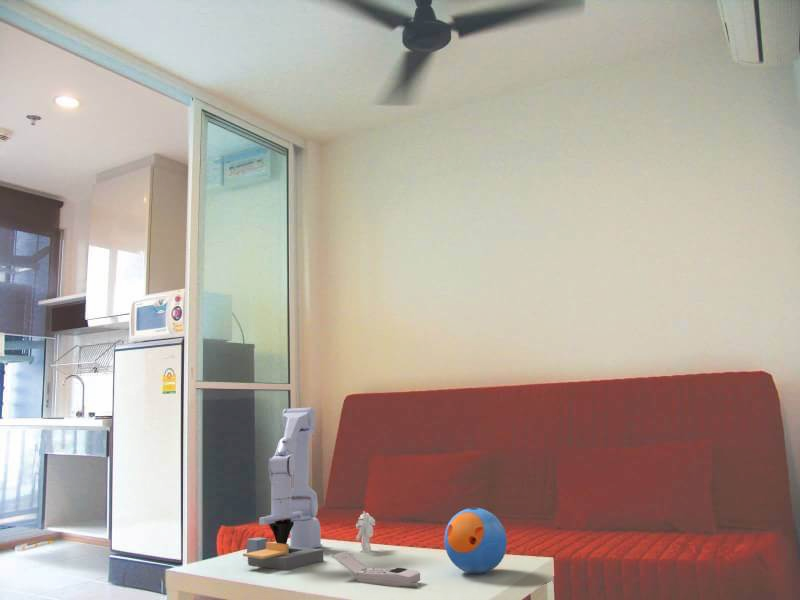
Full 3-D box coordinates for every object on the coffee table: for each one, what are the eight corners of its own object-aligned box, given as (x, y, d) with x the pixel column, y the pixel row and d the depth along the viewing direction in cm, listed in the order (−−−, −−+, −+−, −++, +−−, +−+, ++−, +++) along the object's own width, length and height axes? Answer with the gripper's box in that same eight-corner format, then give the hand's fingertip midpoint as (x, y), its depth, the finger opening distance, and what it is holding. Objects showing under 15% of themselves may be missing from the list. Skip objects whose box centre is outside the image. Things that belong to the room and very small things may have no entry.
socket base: (285, 555, 191) (285, 545, 192) (323, 560, 182) (323, 549, 182) (247, 564, 181) (248, 553, 181) (285, 570, 171) (285, 558, 172)
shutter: (268, 550, 182) (268, 541, 183) (288, 553, 177) (288, 544, 178) (242, 556, 175) (242, 546, 176) (262, 558, 170) (262, 549, 171)
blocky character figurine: (363, 553, 189) (362, 511, 192) (352, 553, 191) (351, 511, 193) (378, 548, 197) (377, 508, 200) (367, 547, 199) (366, 507, 201)
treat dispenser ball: (518, 569, 161) (513, 505, 164) (492, 582, 148) (488, 513, 151) (463, 564, 169) (460, 504, 172) (434, 576, 156) (431, 511, 159)
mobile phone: (345, 550, 164) (428, 557, 151) (345, 575, 163) (429, 583, 150) (330, 555, 159) (414, 562, 146) (330, 580, 158) (415, 590, 145)
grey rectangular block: (257, 555, 193) (257, 537, 194) (267, 557, 191) (267, 538, 192) (246, 558, 190) (246, 539, 191) (256, 559, 188) (256, 540, 189)
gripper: (270, 501, 175) (270, 554, 173) (309, 496, 187) (310, 545, 184) (254, 500, 180) (254, 551, 177) (293, 495, 191) (293, 543, 188)
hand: (281, 548), depth 181 cm, fingers closed
